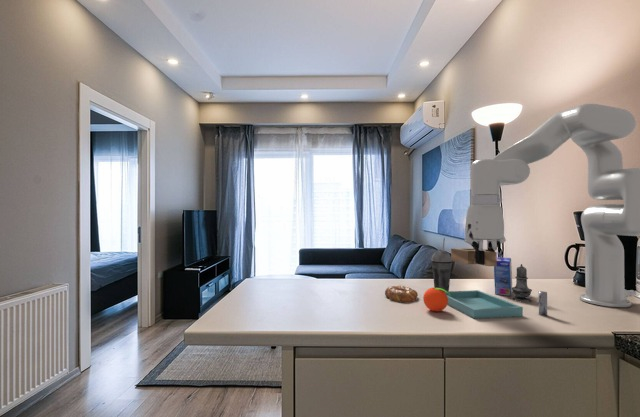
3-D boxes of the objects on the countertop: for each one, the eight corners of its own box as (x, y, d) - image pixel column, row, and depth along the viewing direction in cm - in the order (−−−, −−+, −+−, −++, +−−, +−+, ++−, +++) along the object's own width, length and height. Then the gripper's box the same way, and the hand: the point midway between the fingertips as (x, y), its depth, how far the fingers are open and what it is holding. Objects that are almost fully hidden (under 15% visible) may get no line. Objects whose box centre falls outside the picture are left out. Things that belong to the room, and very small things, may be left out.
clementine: (454, 310, 98) (454, 286, 98) (448, 316, 92) (448, 291, 92) (427, 306, 102) (426, 283, 102) (420, 312, 96) (420, 287, 96)
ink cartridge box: (495, 288, 125) (495, 250, 125) (512, 290, 122) (512, 251, 122) (493, 294, 116) (493, 253, 116) (511, 296, 113) (511, 254, 113)
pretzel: (422, 304, 106) (422, 292, 106) (389, 303, 106) (389, 292, 106) (413, 294, 118) (413, 283, 118) (382, 293, 118) (382, 283, 118)
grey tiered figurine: (535, 302, 105) (535, 265, 106) (515, 301, 107) (515, 265, 107) (527, 298, 111) (527, 262, 111) (508, 297, 112) (508, 262, 113)
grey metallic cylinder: (543, 313, 94) (543, 291, 94) (549, 315, 92) (548, 292, 92) (537, 313, 94) (536, 291, 94) (542, 316, 92) (542, 293, 92)
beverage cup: (426, 291, 120) (426, 237, 120) (443, 290, 122) (443, 236, 122) (439, 296, 113) (439, 239, 113) (457, 295, 115) (456, 238, 115)
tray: (478, 297, 112) (478, 290, 112) (522, 316, 92) (522, 307, 92) (437, 299, 110) (437, 291, 110) (474, 318, 90) (474, 309, 90)
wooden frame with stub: (476, 260, 108) (476, 248, 108) (507, 265, 94) (506, 251, 94) (451, 260, 106) (451, 248, 107) (478, 266, 93) (478, 252, 93)
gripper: (500, 202, 102) (500, 261, 102) (452, 201, 99) (452, 262, 99) (518, 201, 94) (519, 265, 94) (467, 200, 92) (467, 266, 92)
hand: (485, 263), depth 97 cm, fingers closed on wooden frame with stub, 2 cm apart
